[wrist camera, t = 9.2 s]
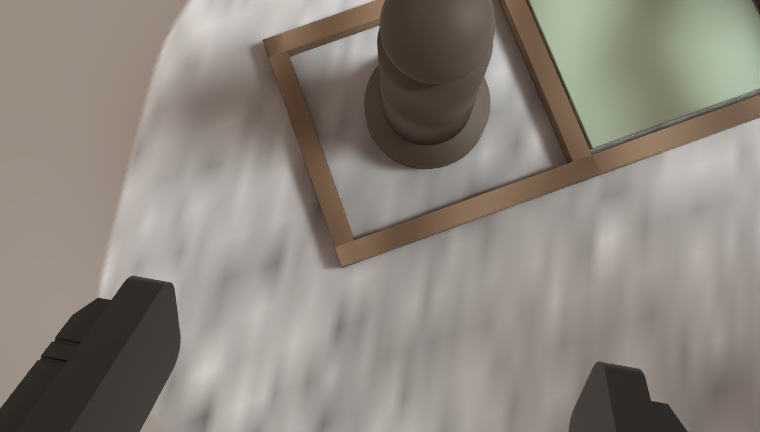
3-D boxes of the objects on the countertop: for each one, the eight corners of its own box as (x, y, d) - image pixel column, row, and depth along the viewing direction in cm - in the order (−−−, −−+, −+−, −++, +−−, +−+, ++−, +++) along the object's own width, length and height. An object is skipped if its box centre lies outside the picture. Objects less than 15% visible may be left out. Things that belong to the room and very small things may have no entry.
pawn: (461, 37, 26) (493, -113, 17) (504, 144, 26) (563, 47, 16) (349, 76, 26) (322, -54, 17) (390, 186, 26) (384, 111, 16)
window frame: (719, -113, 27) (726, -123, 27) (824, 94, 26) (834, 88, 25) (265, 46, 27) (262, 39, 26) (342, 267, 25) (341, 266, 24)
